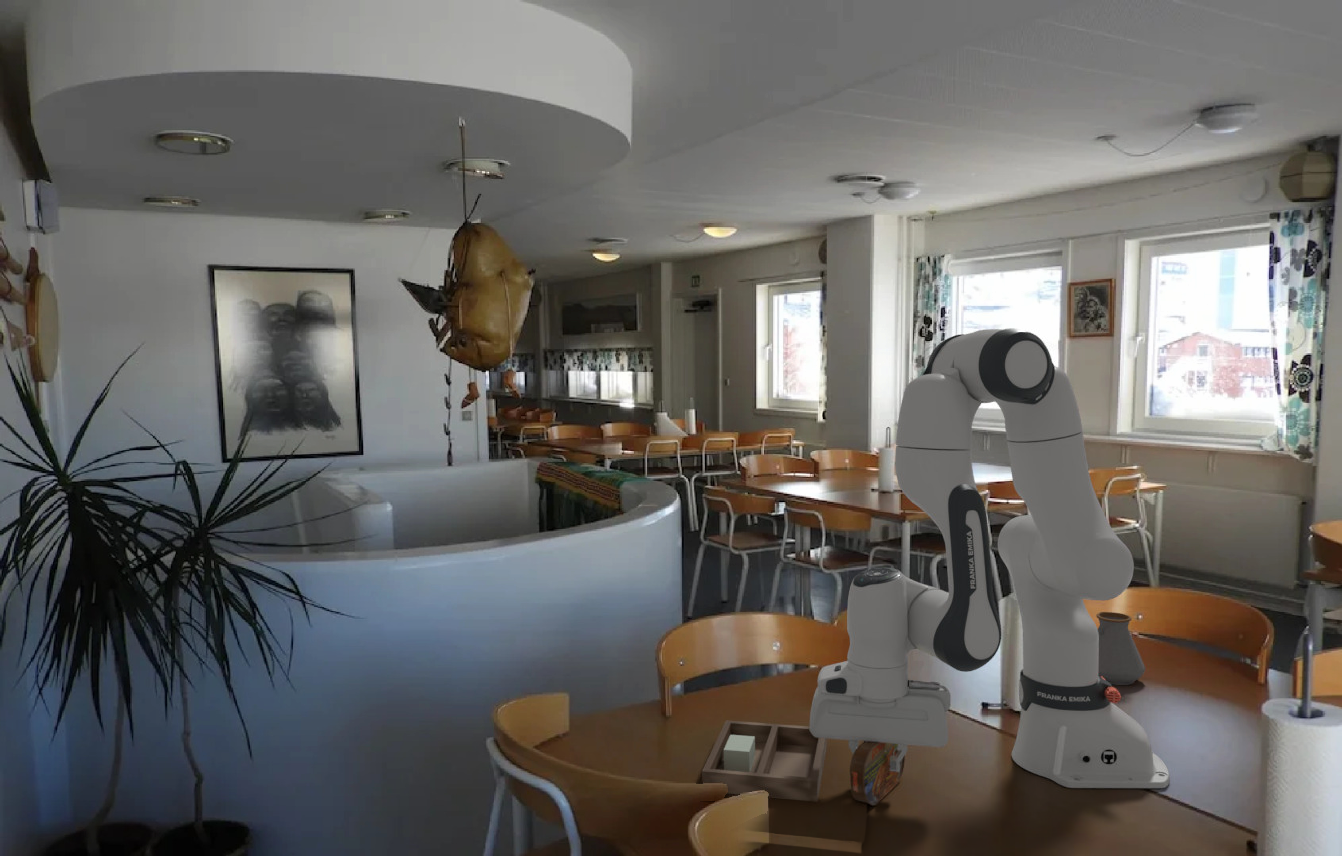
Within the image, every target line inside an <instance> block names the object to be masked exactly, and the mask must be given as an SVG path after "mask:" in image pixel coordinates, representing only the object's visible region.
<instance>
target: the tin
mask: <svg viewBox="0 0 1342 856" xmlns="http://www.w3.org/2000/svg"><path fill="white" fill-rule="evenodd" d="M897 752H898V744H893V743H880V742H868V741H862V743H861V744H858V747H857V749H856V750H855V752H854V754H853V753H852V757H851V759H850V760H851V761H850V765H849V775H850V776H849V777H850V778H849V779H850V789H851V796H852V797H853V799H854V800H856V801H857V802H858V801H859V802H863V803H866V804H868V805H870V806H873V807H874V806H876V805H878V804H879V803H881V801H882V800H883V799H884V798H885V797H886V796H887V795H888V794H889V793H890V792H891V791H892V790H893V789H895V787H896V786H897V785H898V784H899V782H900V780H901V779H902V776H903V772H904V769H905V759H906V754H905V755H904V757H903V759H902V760H901V761H900V772H893V771H890V756H895V755H896V754H897Z"/></svg>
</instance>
